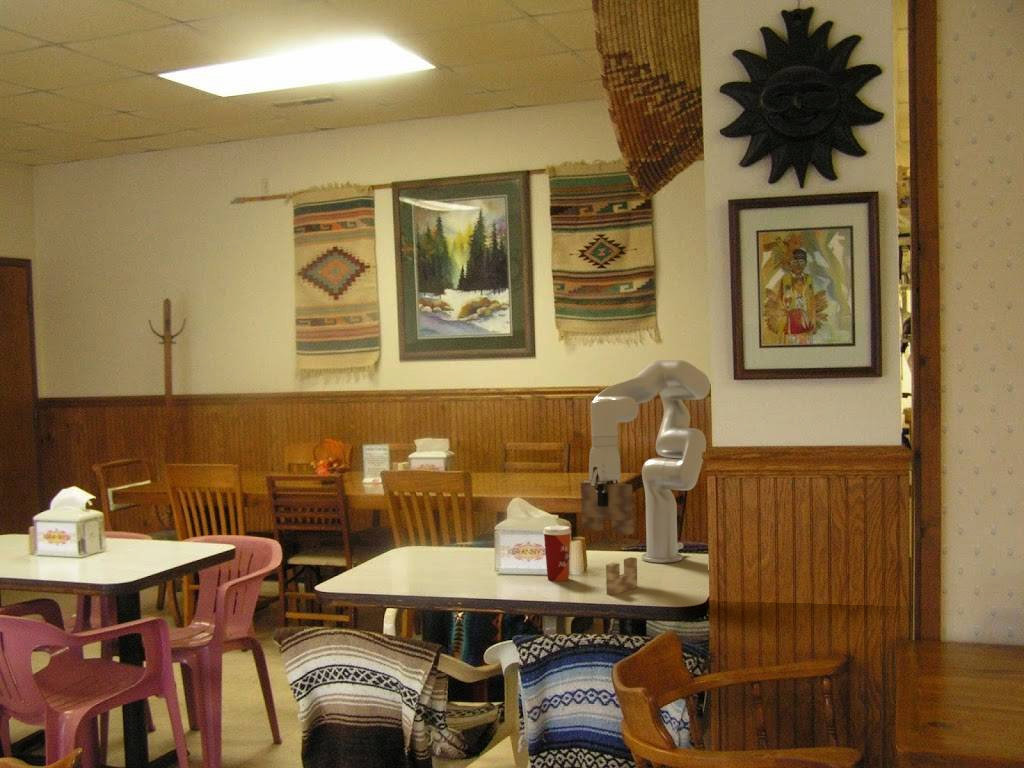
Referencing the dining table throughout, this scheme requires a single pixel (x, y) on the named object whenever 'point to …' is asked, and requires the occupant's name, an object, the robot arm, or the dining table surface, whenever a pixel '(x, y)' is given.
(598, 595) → the dining table surface
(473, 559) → the dining table surface
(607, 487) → the walnut block
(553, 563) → the coffee cup
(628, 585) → the brown u-shaped block
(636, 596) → the dining table surface
